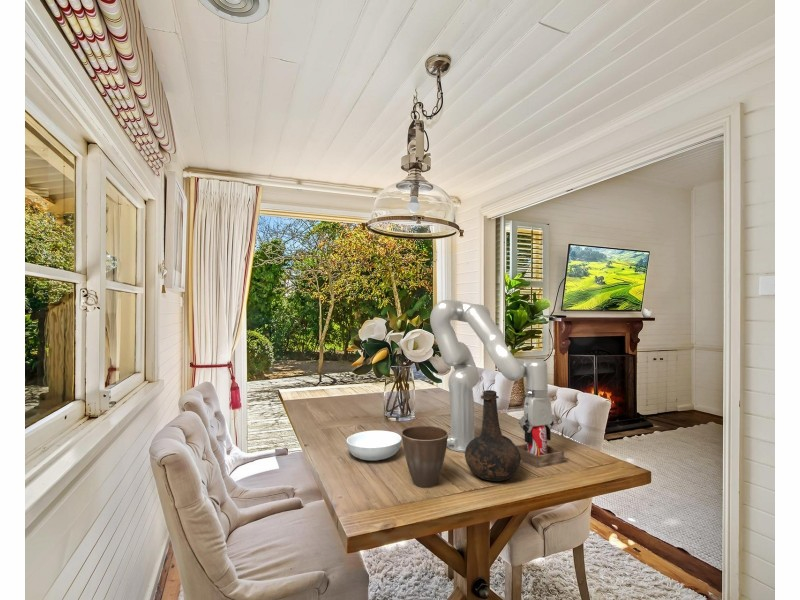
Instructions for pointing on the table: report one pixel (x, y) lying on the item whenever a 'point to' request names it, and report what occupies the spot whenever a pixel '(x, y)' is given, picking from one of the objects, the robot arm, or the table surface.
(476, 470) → the glass bottle
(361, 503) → the table surface
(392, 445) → the serving bowl
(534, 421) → the robot arm
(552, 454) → the open storage box
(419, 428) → the plant pot
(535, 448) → the soda can
